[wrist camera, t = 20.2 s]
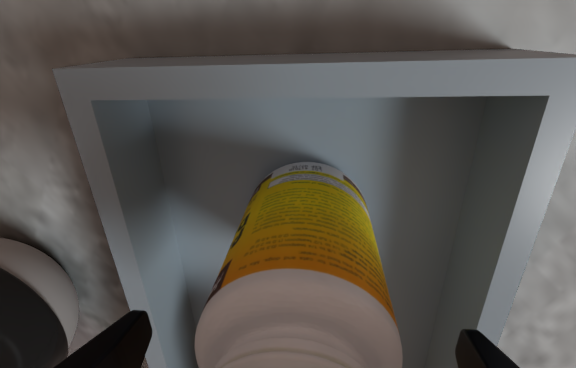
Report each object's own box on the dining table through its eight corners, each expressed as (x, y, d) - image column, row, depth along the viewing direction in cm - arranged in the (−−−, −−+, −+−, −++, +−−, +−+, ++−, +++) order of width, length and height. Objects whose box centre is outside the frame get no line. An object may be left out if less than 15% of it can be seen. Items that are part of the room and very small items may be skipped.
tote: (421, 413, 23) (442, 495, 19) (204, 395, 24) (180, 467, 20) (512, 48, 13) (602, 57, 9) (128, 58, 14) (51, 68, 10)
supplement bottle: (248, 154, 15) (122, 364, 5) (373, 159, 14) (468, 399, 5) (253, 253, 17) (171, 517, 8) (359, 261, 17) (406, 550, 7)
